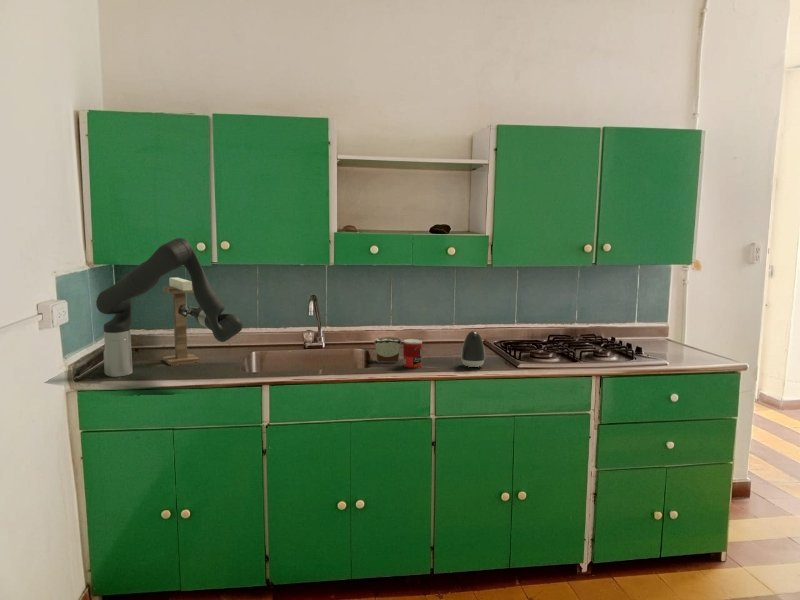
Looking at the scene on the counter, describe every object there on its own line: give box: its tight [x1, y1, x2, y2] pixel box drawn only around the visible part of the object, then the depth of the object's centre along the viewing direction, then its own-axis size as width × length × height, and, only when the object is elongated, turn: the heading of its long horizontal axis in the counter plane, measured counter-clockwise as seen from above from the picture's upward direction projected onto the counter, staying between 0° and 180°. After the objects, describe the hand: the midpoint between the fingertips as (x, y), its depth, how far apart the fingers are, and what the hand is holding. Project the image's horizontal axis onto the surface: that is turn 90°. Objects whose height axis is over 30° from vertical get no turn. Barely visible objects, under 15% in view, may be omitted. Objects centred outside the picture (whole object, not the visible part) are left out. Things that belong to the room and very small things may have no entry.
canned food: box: [402, 338, 423, 369], centre depth 240 cm, size 8×8×11 cm
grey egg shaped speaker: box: [460, 330, 486, 368], centre depth 240 cm, size 10×10×15 cm
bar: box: [168, 276, 193, 291], centre depth 239 cm, size 21×4×4 cm, turn 36°
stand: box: [162, 285, 201, 367], centre depth 244 cm, size 12×12×32 cm
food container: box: [373, 336, 403, 363], centre depth 250 cm, size 12×6×10 cm, turn 92°
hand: (191, 307), depth 228 cm, fingers open, 8 cm apart
